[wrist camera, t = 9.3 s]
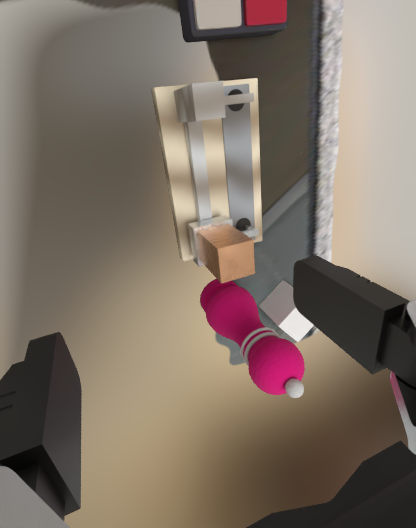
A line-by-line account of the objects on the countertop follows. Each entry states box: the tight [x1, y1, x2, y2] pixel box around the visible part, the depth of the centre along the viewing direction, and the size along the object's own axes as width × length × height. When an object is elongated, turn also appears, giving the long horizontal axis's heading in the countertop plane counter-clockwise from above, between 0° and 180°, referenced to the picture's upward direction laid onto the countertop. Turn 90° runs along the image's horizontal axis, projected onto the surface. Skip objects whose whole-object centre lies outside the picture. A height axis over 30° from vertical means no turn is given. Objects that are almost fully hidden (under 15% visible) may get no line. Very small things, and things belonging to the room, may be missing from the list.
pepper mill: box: [200, 279, 304, 398], centre depth 37 cm, size 7×7×20 cm
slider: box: [188, 215, 259, 284], centre depth 35 cm, size 5×8×8 cm, turn 96°
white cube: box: [259, 280, 314, 342], centre depth 48 cm, size 6×6×6 cm
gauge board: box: [152, 78, 262, 261], centre depth 34 cm, size 20×12×8 cm, turn 6°
